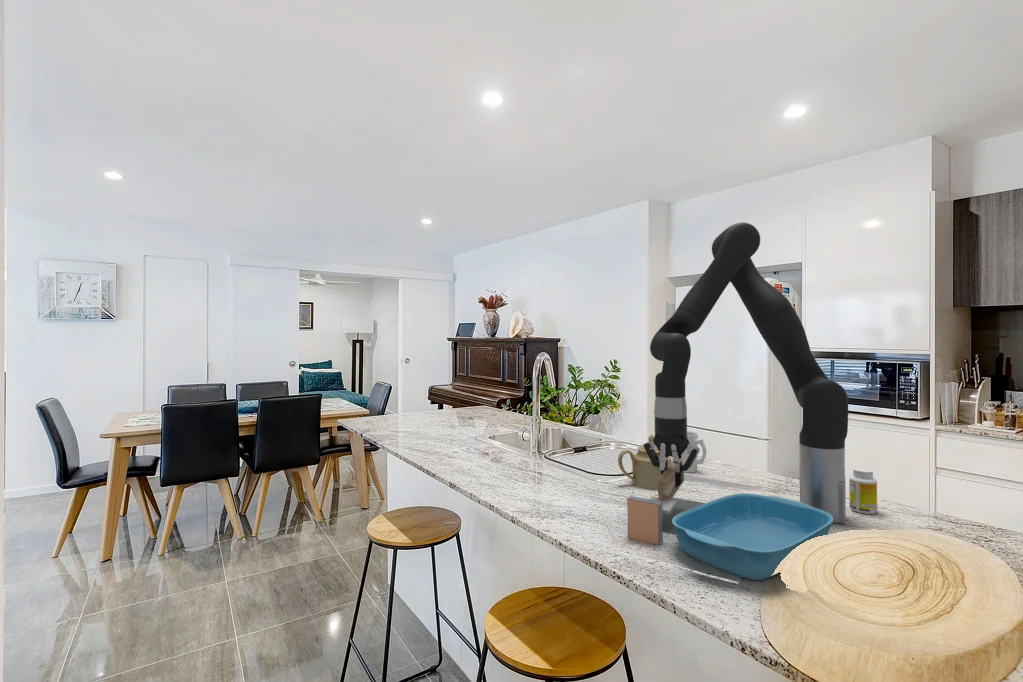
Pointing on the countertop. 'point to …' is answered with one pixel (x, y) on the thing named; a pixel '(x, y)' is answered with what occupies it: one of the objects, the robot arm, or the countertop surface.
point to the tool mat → (679, 508)
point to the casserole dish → (748, 532)
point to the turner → (667, 489)
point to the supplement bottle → (863, 491)
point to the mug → (694, 442)
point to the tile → (645, 520)
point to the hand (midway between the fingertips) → (671, 485)
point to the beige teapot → (642, 467)
